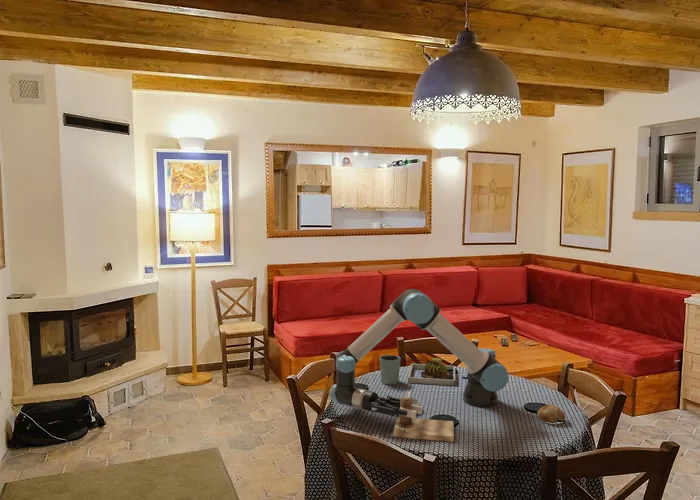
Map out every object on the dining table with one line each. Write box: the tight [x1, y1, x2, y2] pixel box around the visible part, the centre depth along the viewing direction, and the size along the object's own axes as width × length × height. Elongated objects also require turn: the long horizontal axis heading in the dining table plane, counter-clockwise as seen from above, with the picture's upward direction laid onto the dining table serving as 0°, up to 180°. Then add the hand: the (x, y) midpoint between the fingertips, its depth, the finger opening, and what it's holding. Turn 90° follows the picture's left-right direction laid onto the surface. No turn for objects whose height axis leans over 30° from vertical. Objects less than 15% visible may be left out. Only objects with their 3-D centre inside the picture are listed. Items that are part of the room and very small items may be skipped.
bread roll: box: [536, 404, 566, 423], centre depth 220 cm, size 10×10×8 cm
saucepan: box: [398, 390, 421, 406], centre depth 234 cm, size 11×18×4 cm, turn 168°
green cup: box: [379, 354, 401, 386], centre depth 266 cm, size 10×10×12 cm
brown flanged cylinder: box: [398, 396, 414, 428], centre depth 209 cm, size 6×6×10 cm
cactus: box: [420, 357, 453, 380], centre depth 275 cm, size 17×16×10 cm
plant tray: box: [407, 363, 456, 386], centre depth 275 cm, size 23×24×2 cm
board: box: [393, 416, 455, 443], centre depth 209 cm, size 22×14×2 cm, turn 80°
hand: (418, 412), depth 206 cm, fingers closed on brown flanged cylinder, 4 cm apart
